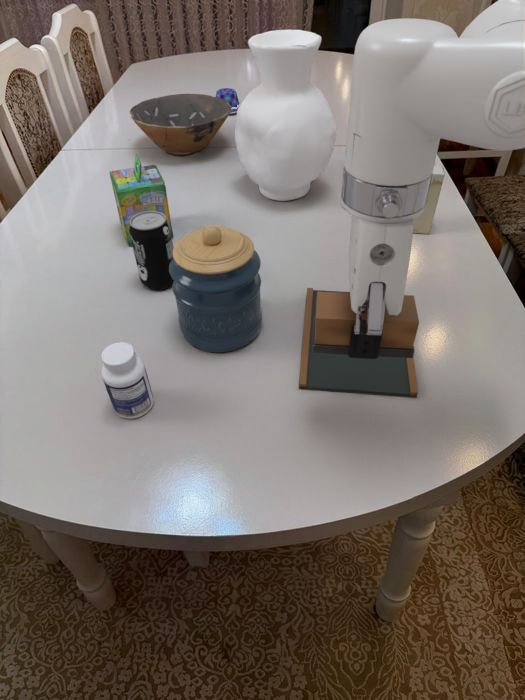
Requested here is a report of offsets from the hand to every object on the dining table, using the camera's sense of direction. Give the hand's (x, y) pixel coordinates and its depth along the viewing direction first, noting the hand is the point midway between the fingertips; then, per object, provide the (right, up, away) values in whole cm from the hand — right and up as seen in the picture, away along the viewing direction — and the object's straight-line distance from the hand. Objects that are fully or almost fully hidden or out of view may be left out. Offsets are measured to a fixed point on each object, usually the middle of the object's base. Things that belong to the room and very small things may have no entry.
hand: (361, 337), depth 56 cm
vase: (-6, +34, +55) cm, 65 cm away
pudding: (-22, +72, +95) cm, 121 cm away
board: (+3, 0, +19) cm, 20 cm away
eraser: (0, 0, 0) cm, 0 cm away
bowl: (-31, +51, +74) cm, 95 cm away
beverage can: (-29, +11, +31) cm, 44 cm away
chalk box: (-34, +22, +44) cm, 60 cm away
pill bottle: (-29, -9, +11) cm, 32 cm away
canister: (-18, +2, +22) cm, 29 cm away
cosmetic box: (+19, +23, +43) cm, 52 cm away
